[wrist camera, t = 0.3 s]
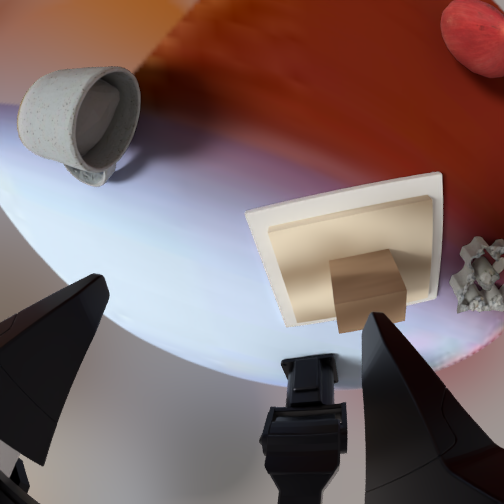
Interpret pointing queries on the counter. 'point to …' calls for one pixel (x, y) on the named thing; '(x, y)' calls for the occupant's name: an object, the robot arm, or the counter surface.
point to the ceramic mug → (81, 119)
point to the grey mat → (339, 202)
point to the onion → (475, 36)
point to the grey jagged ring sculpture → (479, 277)
